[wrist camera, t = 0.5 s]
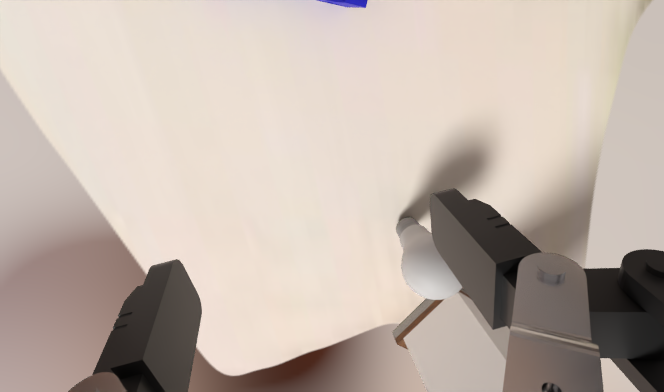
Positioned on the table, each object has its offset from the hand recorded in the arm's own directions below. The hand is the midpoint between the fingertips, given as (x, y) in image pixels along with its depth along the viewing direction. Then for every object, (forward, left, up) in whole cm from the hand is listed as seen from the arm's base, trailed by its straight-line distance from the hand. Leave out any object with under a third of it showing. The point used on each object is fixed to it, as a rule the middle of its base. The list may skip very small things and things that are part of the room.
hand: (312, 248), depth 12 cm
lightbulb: (+8, +19, -24) cm, 32 cm away
